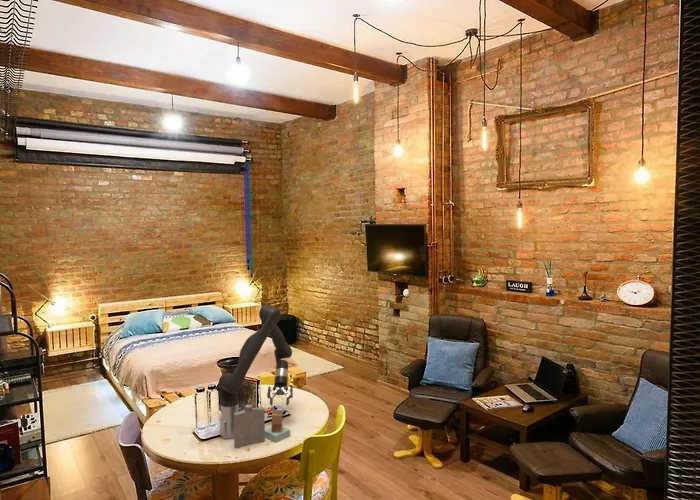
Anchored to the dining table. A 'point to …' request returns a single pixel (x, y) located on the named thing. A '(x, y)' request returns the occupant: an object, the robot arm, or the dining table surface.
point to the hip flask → (249, 426)
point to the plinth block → (277, 434)
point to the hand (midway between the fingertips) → (279, 404)
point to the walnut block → (277, 421)
